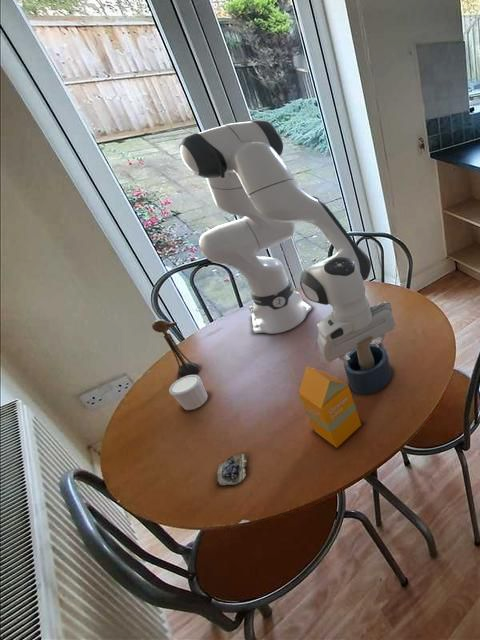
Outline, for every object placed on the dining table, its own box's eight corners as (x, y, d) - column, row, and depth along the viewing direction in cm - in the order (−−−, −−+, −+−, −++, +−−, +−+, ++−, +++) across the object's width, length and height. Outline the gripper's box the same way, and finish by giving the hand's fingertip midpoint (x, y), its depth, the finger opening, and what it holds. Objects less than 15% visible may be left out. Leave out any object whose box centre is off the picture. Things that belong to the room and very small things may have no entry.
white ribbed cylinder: (216, 395, 112) (206, 377, 108) (192, 415, 106) (180, 397, 103) (198, 388, 114) (188, 371, 110) (174, 408, 108) (162, 390, 105)
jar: (343, 377, 116) (336, 357, 112) (379, 357, 123) (375, 338, 119) (361, 401, 109) (354, 381, 105) (398, 378, 116) (394, 358, 112)
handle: (379, 382, 114) (369, 343, 106) (357, 383, 114) (345, 344, 106) (383, 369, 118) (373, 330, 110) (361, 370, 118) (350, 332, 110)
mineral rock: (243, 450, 97) (240, 445, 96) (257, 470, 93) (254, 465, 92) (212, 471, 93) (208, 466, 92) (224, 493, 88) (221, 488, 87)
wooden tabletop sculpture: (205, 364, 122) (175, 313, 112) (199, 375, 118) (168, 323, 108) (183, 368, 121) (151, 316, 110) (176, 379, 117) (142, 327, 106)
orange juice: (336, 448, 97) (314, 392, 87) (314, 431, 101) (290, 376, 91) (362, 424, 103) (344, 369, 93) (340, 409, 107) (320, 355, 97)
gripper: (384, 294, 112) (392, 331, 119) (309, 327, 100) (323, 367, 107) (395, 304, 108) (403, 342, 115) (319, 340, 96) (333, 380, 104)
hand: (364, 354), depth 111 cm, fingers open, 8 cm apart
